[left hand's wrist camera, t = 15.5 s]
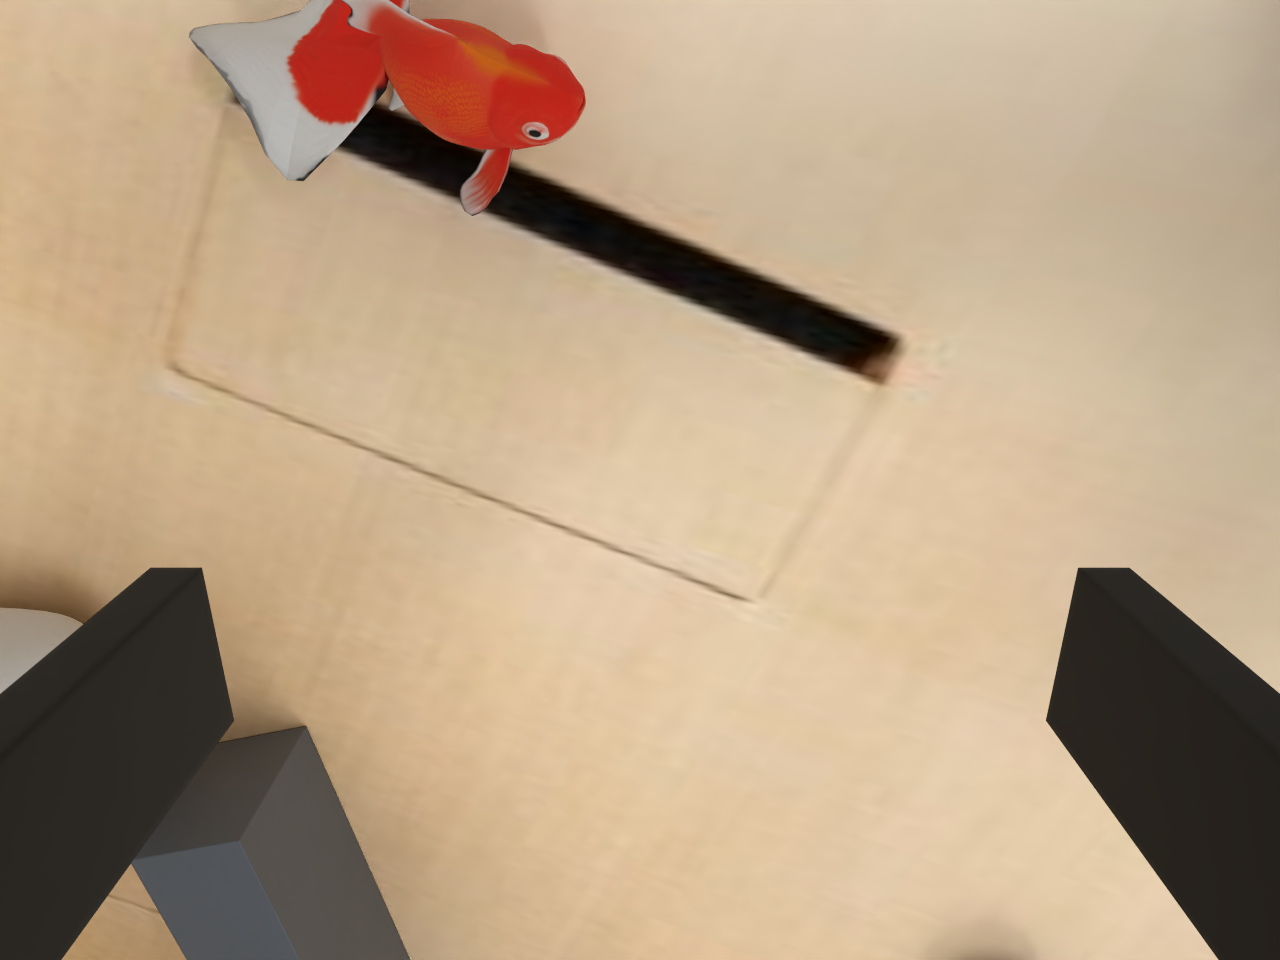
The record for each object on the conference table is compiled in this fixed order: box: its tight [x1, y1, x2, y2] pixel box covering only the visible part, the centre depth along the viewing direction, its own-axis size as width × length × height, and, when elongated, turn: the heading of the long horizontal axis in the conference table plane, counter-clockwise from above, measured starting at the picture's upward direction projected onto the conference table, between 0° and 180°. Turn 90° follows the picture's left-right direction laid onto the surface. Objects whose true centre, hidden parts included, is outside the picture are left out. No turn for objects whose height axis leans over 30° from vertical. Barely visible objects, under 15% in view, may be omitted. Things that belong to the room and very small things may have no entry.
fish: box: [189, 0, 585, 216], centre depth 32 cm, size 11×16×10 cm
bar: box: [131, 727, 410, 960], centre depth 48 cm, size 23×6×9 cm, turn 12°
